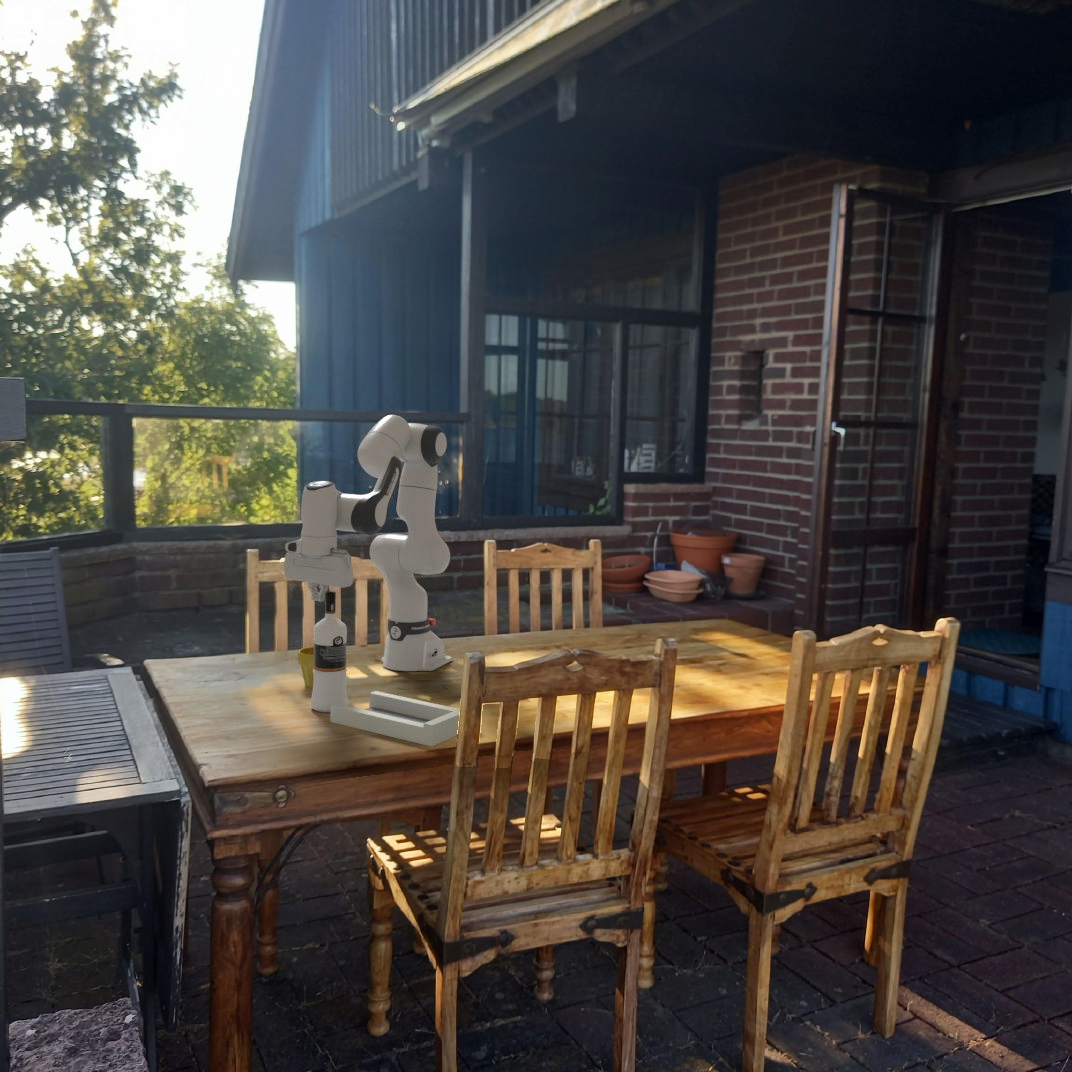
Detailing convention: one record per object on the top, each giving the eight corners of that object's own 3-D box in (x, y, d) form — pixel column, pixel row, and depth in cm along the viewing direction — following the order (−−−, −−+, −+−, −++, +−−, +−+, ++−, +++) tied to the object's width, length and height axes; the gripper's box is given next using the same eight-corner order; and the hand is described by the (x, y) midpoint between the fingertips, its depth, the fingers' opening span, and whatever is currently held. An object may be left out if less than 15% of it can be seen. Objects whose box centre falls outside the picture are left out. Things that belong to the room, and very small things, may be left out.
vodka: (339, 701, 270) (340, 587, 266) (353, 710, 262) (355, 593, 259) (305, 705, 265) (306, 589, 261) (318, 715, 257) (320, 596, 253)
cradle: (375, 706, 267) (375, 687, 266) (473, 728, 251) (474, 708, 251) (330, 721, 252) (330, 701, 252) (431, 746, 237) (432, 725, 236)
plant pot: (298, 691, 278) (299, 655, 277) (296, 681, 288) (297, 646, 286) (338, 689, 281) (338, 654, 279) (334, 679, 290) (335, 645, 289)
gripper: (359, 549, 258) (358, 604, 260) (298, 541, 268) (297, 594, 270) (342, 551, 253) (341, 607, 254) (280, 543, 263) (280, 597, 265)
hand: (318, 600), depth 262 cm, fingers closed
